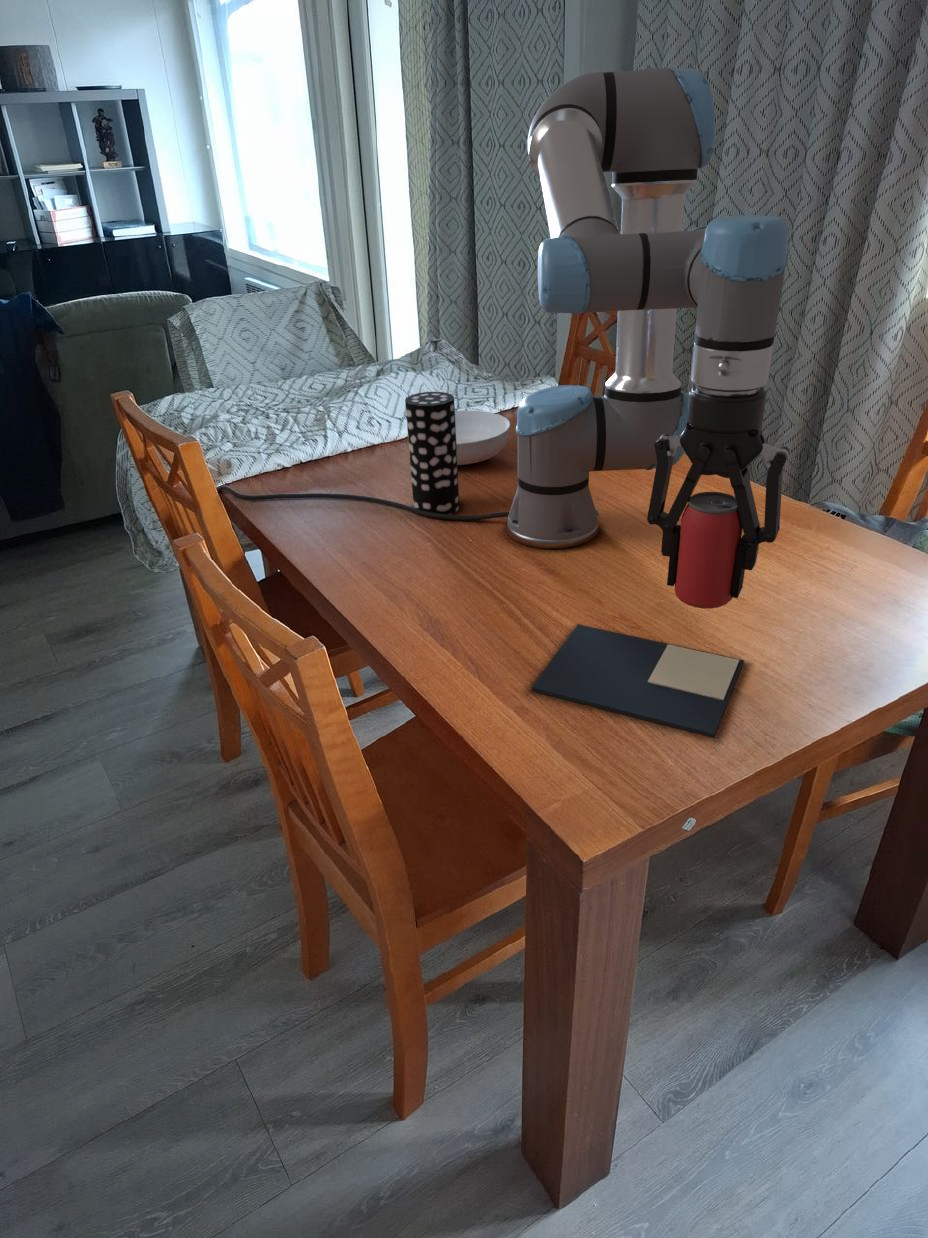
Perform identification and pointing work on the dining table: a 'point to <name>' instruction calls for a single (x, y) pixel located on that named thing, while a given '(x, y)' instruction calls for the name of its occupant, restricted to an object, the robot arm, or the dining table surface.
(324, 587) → the dining table surface
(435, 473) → the spotted tube
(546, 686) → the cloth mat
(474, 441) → the serving bowl
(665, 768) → the dining table surface
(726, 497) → the beer can
